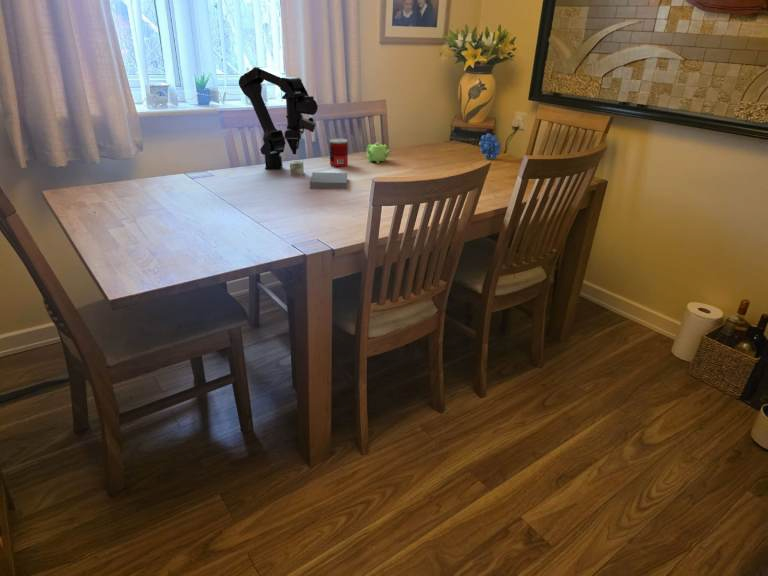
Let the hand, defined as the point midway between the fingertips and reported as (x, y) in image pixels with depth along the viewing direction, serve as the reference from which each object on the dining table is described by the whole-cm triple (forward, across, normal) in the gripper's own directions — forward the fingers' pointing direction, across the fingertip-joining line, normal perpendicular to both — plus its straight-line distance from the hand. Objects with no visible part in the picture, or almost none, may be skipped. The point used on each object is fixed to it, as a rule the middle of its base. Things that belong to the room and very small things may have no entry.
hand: (295, 151), depth 209 cm
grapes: (+9, +31, -88) cm, 94 cm away
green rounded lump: (+9, +23, -35) cm, 43 cm away
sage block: (+9, 0, 0) cm, 9 cm away
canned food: (+9, +15, -17) cm, 25 cm away
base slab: (+9, -14, -14) cm, 22 cm away
